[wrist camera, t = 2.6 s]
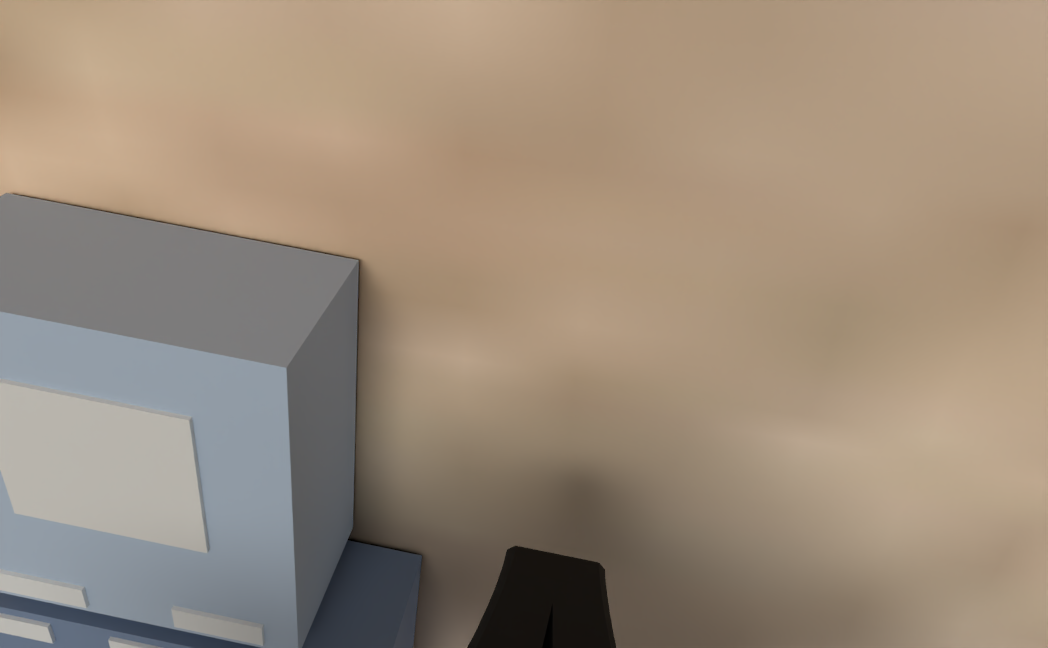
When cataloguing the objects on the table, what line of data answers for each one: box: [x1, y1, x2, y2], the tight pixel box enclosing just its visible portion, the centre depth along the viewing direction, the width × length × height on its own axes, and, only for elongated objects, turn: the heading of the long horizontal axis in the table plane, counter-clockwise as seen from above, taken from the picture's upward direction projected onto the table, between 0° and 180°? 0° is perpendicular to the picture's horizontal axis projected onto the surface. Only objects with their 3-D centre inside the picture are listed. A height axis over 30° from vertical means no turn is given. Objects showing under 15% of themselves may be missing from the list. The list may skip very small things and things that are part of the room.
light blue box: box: [0, 193, 359, 648], centre depth 13 cm, size 6×6×3 cm
